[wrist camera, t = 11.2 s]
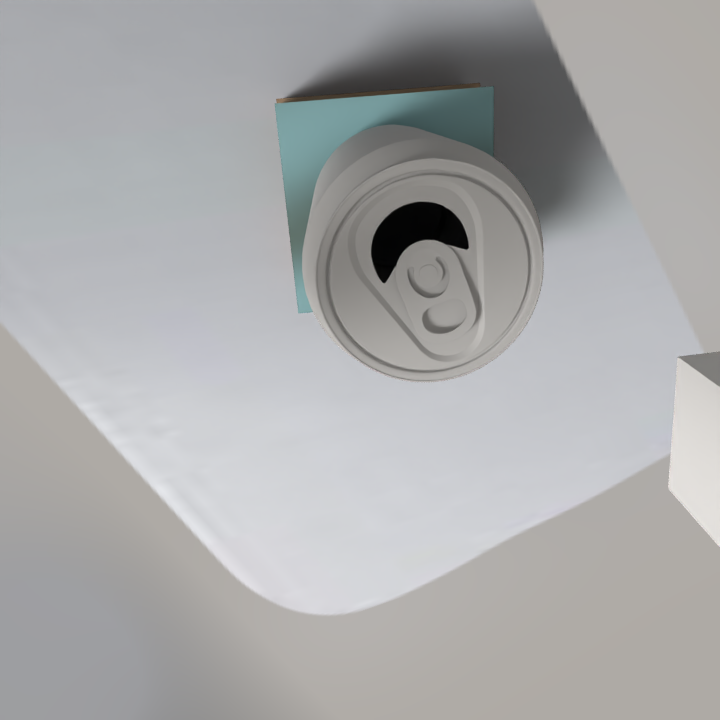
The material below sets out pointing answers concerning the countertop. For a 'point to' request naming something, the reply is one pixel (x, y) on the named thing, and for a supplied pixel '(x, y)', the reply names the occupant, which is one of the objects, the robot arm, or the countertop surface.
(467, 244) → the beverage can
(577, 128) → the countertop surface
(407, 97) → the teal and brown block
